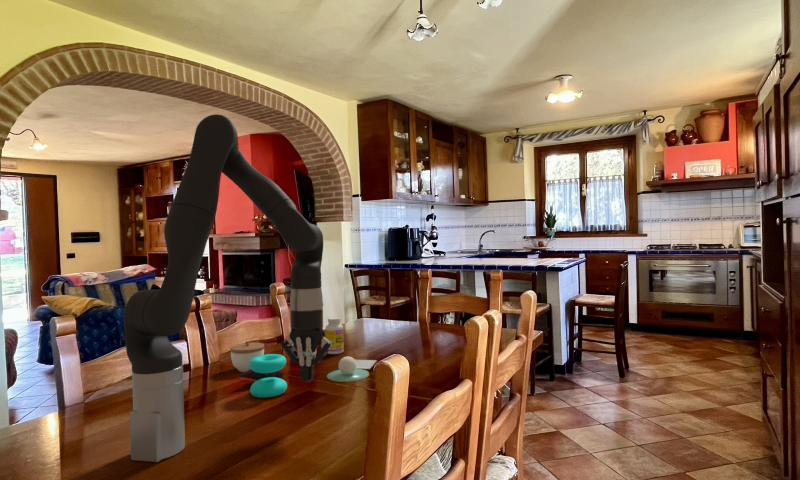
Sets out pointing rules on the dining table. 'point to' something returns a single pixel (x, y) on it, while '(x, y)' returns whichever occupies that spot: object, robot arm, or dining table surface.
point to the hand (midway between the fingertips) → (307, 381)
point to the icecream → (260, 375)
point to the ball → (347, 365)
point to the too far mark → (364, 364)
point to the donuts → (271, 384)
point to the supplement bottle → (335, 335)
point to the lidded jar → (245, 354)
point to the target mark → (348, 376)
